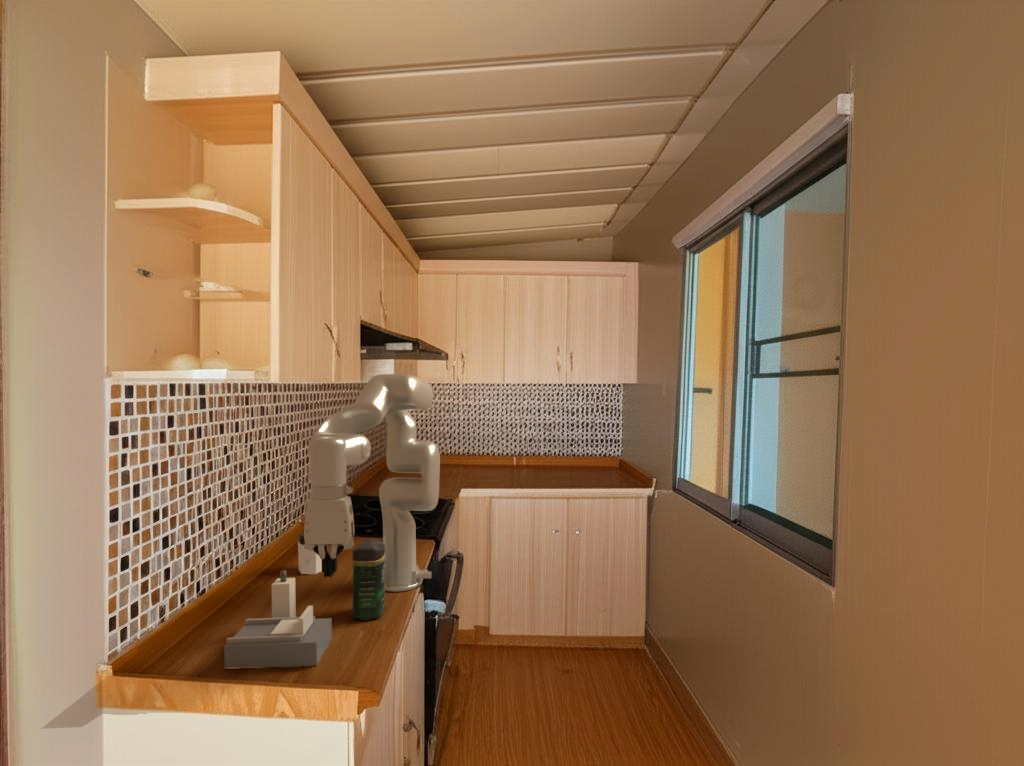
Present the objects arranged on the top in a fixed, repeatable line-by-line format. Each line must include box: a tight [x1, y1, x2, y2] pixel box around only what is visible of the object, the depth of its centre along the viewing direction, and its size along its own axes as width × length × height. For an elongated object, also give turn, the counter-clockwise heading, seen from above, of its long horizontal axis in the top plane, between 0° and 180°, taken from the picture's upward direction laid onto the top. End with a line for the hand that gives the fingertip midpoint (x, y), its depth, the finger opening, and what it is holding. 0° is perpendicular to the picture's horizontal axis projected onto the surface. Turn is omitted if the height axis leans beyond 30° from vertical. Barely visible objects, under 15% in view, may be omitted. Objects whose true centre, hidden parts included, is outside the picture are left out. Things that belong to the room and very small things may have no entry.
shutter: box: [270, 605, 314, 636], centre depth 122 cm, size 7×7×4 cm
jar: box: [297, 531, 323, 575], centre depth 176 cm, size 9×8×12 cm
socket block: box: [223, 615, 333, 669], centre depth 122 cm, size 19×12×6 cm, turn 93°
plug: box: [270, 569, 297, 618], centre depth 134 cm, size 4×4×14 cm
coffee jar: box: [352, 539, 386, 621], centre depth 143 cm, size 10×8×19 cm
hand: (329, 575), depth 122 cm, fingers closed
